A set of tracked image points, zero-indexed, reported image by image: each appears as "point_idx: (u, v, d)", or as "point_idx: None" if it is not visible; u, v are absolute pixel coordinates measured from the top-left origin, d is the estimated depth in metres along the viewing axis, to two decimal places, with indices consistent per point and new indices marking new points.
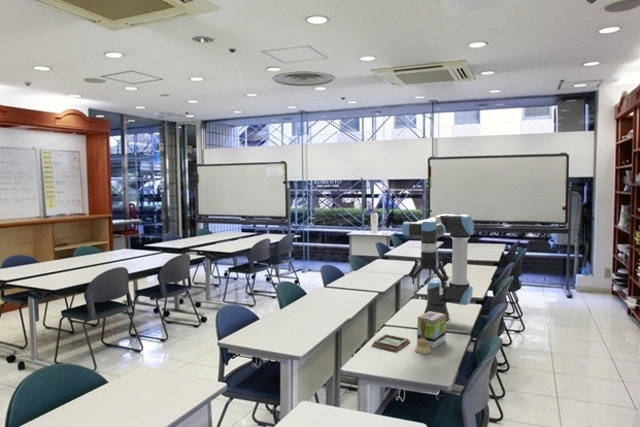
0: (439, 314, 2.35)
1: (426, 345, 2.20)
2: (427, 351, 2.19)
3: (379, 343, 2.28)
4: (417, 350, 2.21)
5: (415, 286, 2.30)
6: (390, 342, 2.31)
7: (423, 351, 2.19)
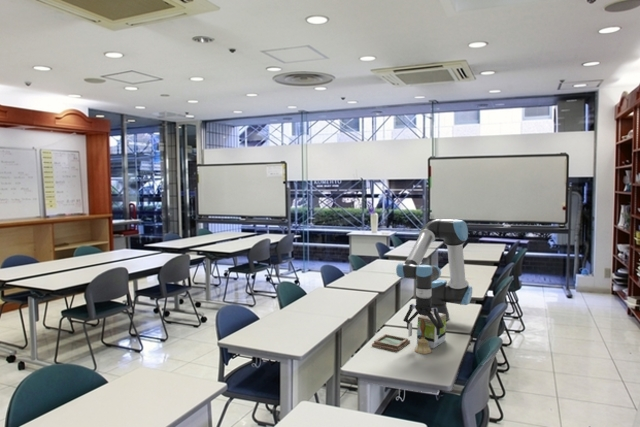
0: (439, 314, 2.35)
1: (426, 345, 2.20)
2: (427, 351, 2.19)
3: (379, 343, 2.28)
4: (417, 350, 2.21)
5: (410, 331, 2.25)
6: (390, 342, 2.31)
7: (423, 351, 2.19)
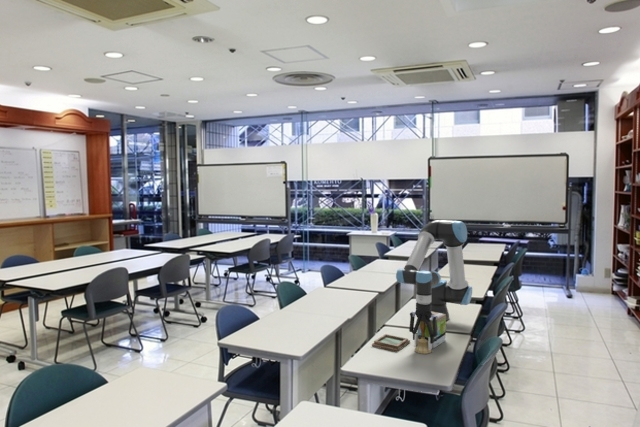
0: (439, 314, 2.35)
1: (426, 345, 2.20)
2: (427, 351, 2.19)
3: (379, 343, 2.28)
4: (417, 350, 2.21)
5: (416, 342, 2.23)
6: (390, 342, 2.31)
7: (423, 351, 2.19)
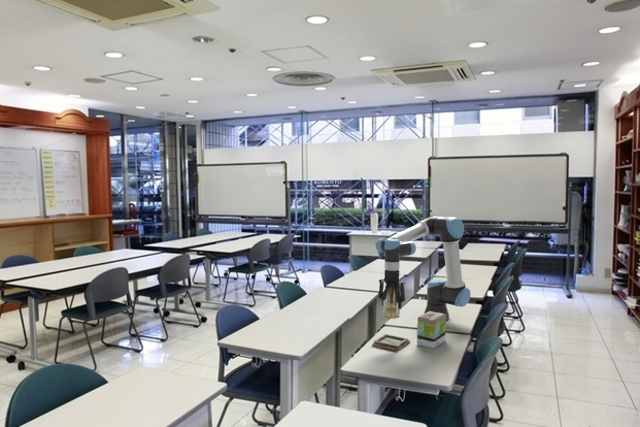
0: (439, 314, 2.35)
1: (394, 310, 2.28)
2: (395, 316, 2.27)
3: (379, 343, 2.28)
4: (385, 315, 2.29)
5: (384, 308, 2.31)
6: (390, 342, 2.31)
7: (391, 316, 2.27)
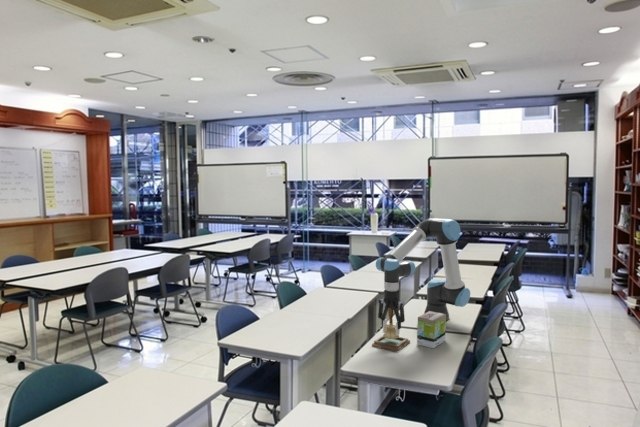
0: (439, 314, 2.35)
1: (394, 331, 2.29)
2: (394, 336, 2.28)
3: (379, 343, 2.28)
4: (385, 335, 2.29)
5: (384, 328, 2.32)
6: (390, 342, 2.31)
7: (390, 336, 2.28)
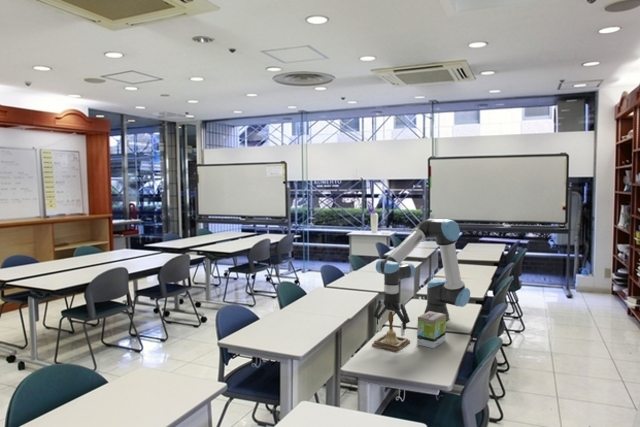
0: (439, 314, 2.35)
1: (394, 336, 2.29)
2: (395, 342, 2.28)
3: (379, 343, 2.28)
4: (385, 341, 2.30)
5: (379, 326, 2.34)
6: None
7: (391, 342, 2.28)
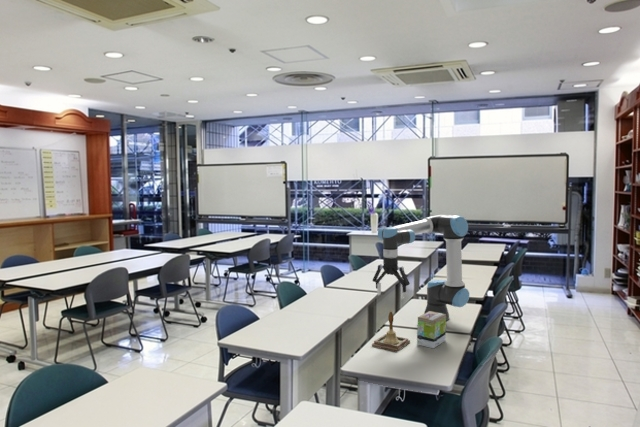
0: (439, 314, 2.35)
1: (394, 336, 2.29)
2: (395, 342, 2.28)
3: (379, 343, 2.28)
4: (385, 341, 2.30)
5: (378, 290, 2.39)
6: None
7: (391, 342, 2.28)
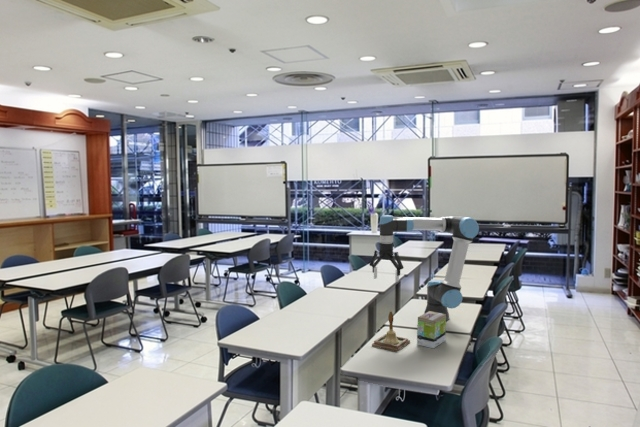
0: (439, 314, 2.35)
1: (394, 336, 2.29)
2: (395, 342, 2.28)
3: (379, 343, 2.28)
4: (385, 341, 2.30)
5: (375, 274, 2.56)
6: None
7: (391, 342, 2.28)
